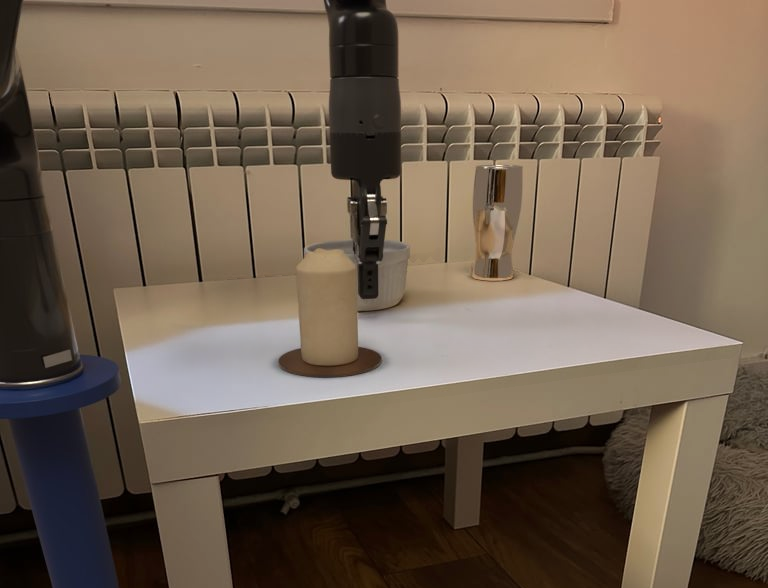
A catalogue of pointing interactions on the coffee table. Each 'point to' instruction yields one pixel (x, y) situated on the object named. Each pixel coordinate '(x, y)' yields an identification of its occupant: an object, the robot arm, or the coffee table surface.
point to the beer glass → (496, 219)
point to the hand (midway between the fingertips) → (368, 297)
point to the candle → (327, 308)
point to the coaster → (362, 364)
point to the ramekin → (389, 271)
